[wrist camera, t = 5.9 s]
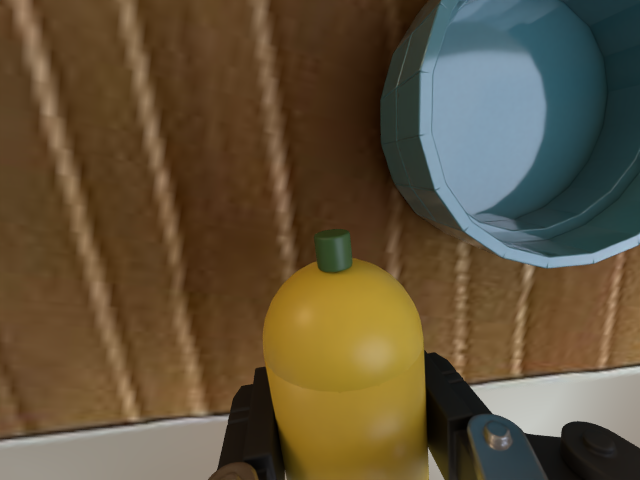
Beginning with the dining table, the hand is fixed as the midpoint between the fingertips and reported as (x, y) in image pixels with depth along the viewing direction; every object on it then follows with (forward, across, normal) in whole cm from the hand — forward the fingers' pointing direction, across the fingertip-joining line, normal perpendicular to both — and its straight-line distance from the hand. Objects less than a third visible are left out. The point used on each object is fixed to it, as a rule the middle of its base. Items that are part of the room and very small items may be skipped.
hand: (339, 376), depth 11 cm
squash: (0, 0, 0) cm, 0 cm away
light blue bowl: (+9, -12, -9) cm, 18 cm away
